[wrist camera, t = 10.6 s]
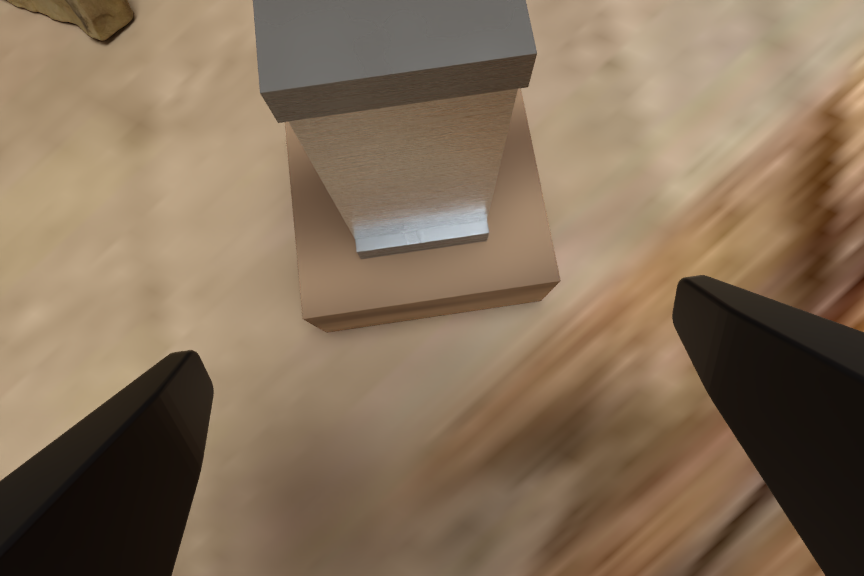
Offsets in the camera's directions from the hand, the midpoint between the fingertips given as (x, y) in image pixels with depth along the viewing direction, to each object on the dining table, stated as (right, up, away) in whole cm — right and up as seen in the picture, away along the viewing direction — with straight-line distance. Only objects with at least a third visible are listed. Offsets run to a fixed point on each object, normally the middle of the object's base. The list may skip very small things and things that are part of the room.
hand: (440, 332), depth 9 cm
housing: (-1, +5, +11) cm, 12 cm away
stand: (-1, +4, +15) cm, 16 cm away
